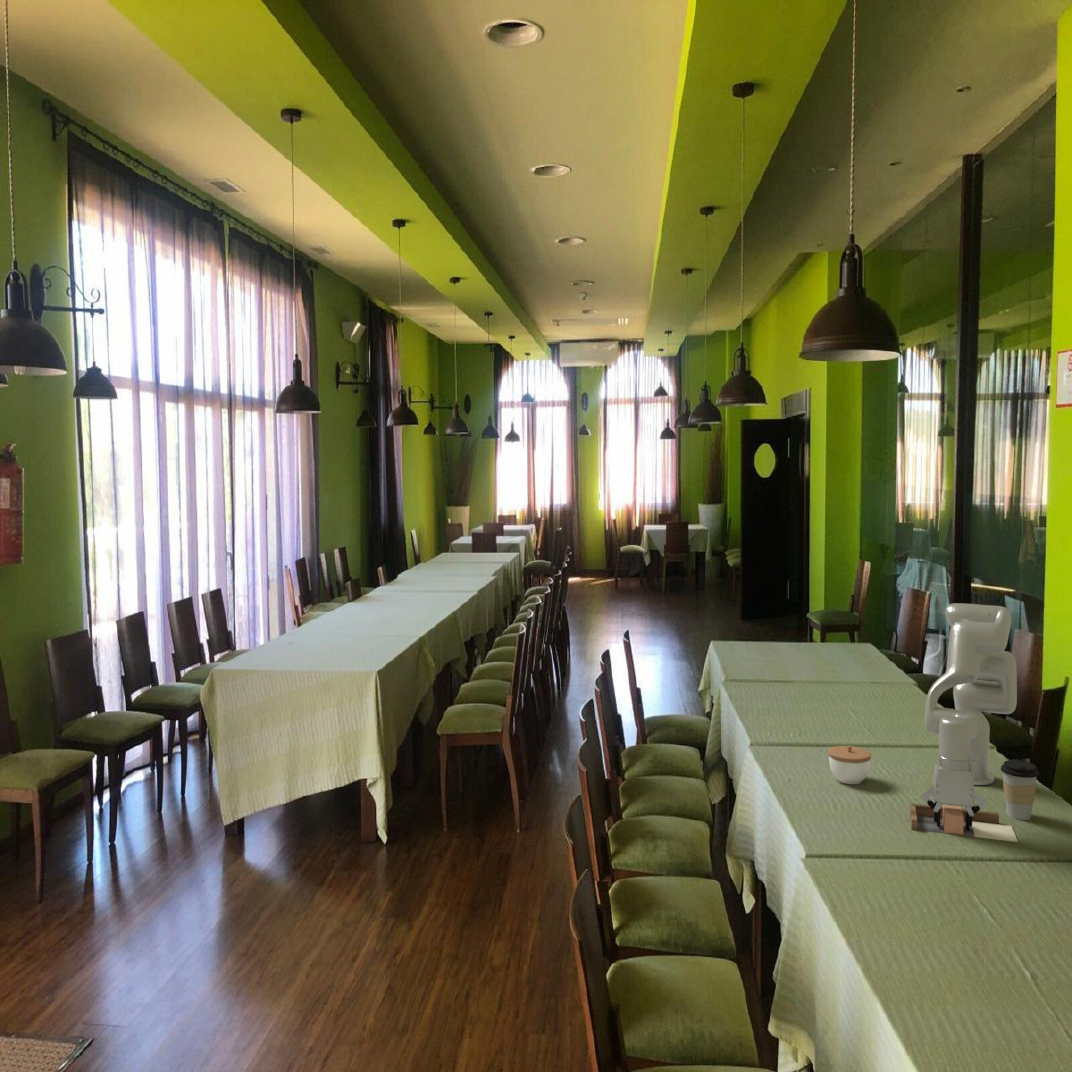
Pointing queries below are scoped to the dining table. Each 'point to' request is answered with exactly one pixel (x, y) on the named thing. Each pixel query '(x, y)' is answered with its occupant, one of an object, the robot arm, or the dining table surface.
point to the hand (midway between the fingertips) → (952, 826)
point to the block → (953, 819)
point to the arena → (925, 819)
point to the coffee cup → (1019, 788)
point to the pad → (993, 831)
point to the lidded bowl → (849, 763)
